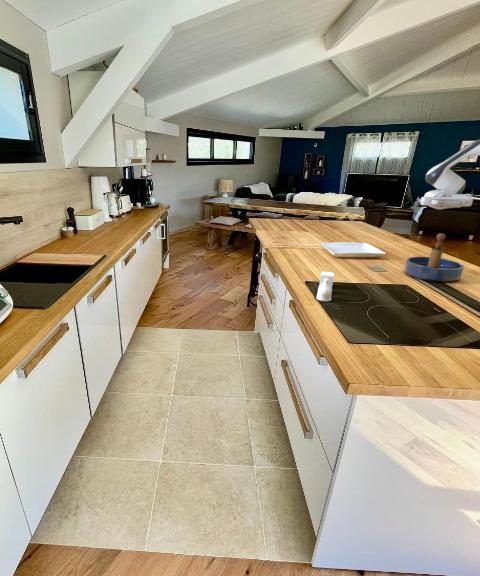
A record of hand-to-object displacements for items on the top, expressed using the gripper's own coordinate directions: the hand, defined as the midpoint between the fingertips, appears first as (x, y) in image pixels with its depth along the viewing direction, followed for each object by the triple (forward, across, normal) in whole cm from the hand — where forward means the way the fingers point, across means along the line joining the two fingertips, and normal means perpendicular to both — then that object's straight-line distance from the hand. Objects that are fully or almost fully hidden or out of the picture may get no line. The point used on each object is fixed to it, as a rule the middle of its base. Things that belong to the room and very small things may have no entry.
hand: (450, 202), depth 147 cm
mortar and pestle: (+21, -7, +29) cm, 37 cm away
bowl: (+21, -7, +30) cm, 37 cm away
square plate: (-11, -38, +30) cm, 50 cm away
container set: (+58, -52, +30) cm, 84 cm away
